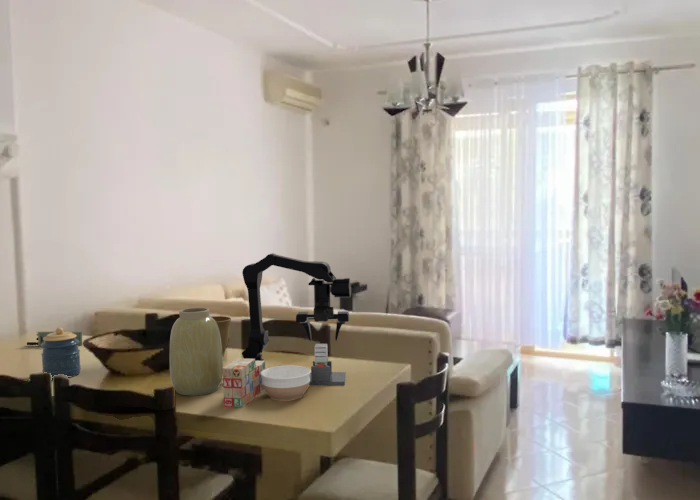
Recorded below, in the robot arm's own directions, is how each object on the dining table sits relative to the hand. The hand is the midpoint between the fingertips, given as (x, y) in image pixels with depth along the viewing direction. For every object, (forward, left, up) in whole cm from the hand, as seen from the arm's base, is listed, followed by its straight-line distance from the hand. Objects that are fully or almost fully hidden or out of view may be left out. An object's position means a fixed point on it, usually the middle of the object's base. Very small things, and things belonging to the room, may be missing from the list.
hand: (323, 340), depth 233 cm
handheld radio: (-124, +52, -12) cm, 135 cm away
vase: (-41, -19, -12) cm, 47 cm away
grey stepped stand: (0, -9, -12) cm, 15 cm away
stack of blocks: (-23, -27, -12) cm, 38 cm away
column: (0, -11, -8) cm, 13 cm away
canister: (-97, +2, -12) cm, 98 cm away
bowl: (-10, -26, -12) cm, 31 cm away
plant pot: (-46, +24, -12) cm, 53 cm away
